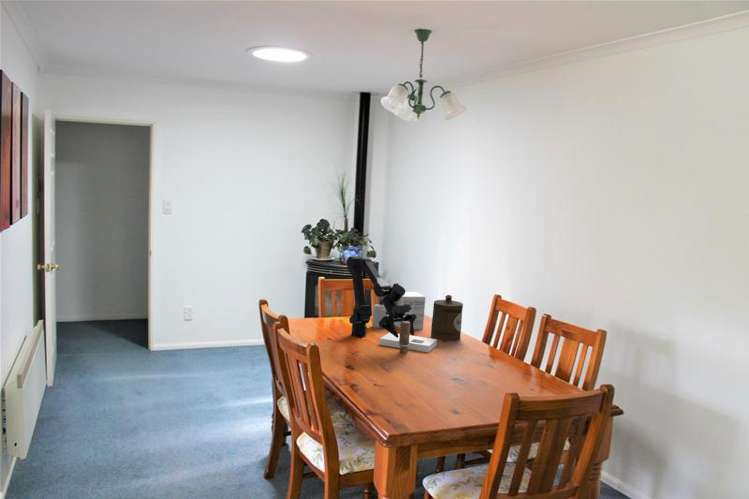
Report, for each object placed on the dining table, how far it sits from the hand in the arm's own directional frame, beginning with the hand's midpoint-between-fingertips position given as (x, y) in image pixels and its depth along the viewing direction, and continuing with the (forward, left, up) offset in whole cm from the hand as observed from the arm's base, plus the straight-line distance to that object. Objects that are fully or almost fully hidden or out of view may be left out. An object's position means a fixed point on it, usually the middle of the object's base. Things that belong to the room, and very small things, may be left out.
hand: (405, 336), depth 291 cm
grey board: (-3, +14, -8) cm, 17 cm away
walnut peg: (-1, 0, -8) cm, 8 cm away
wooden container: (+9, +39, -8) cm, 41 cm away
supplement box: (-15, +52, -8) cm, 55 cm away
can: (-27, +40, -8) cm, 49 cm away
